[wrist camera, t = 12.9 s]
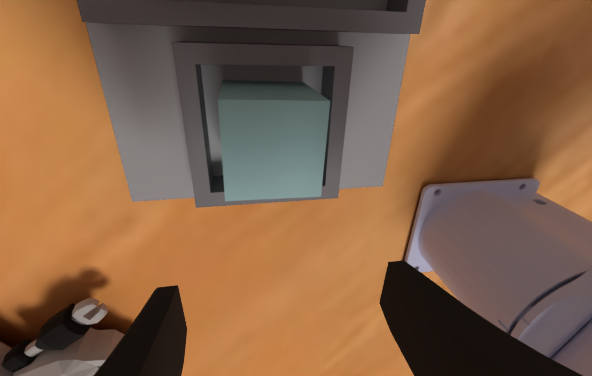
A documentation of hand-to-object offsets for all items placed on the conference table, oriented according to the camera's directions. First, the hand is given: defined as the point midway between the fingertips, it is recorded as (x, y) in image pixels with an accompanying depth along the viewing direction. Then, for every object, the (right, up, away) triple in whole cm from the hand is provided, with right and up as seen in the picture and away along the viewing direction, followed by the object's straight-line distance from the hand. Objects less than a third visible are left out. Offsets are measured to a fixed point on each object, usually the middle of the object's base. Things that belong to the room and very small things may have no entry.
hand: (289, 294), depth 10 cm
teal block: (-2, +7, +6) cm, 9 cm away
